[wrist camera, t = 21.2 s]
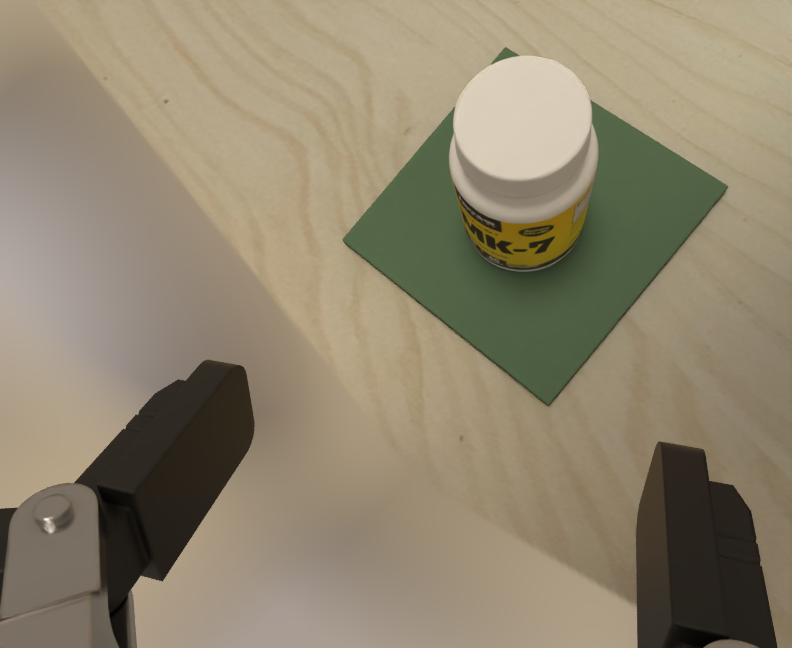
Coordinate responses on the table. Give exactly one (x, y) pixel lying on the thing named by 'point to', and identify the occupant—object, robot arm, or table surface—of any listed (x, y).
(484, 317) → the mat
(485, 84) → the supplement bottle
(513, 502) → the table surface
